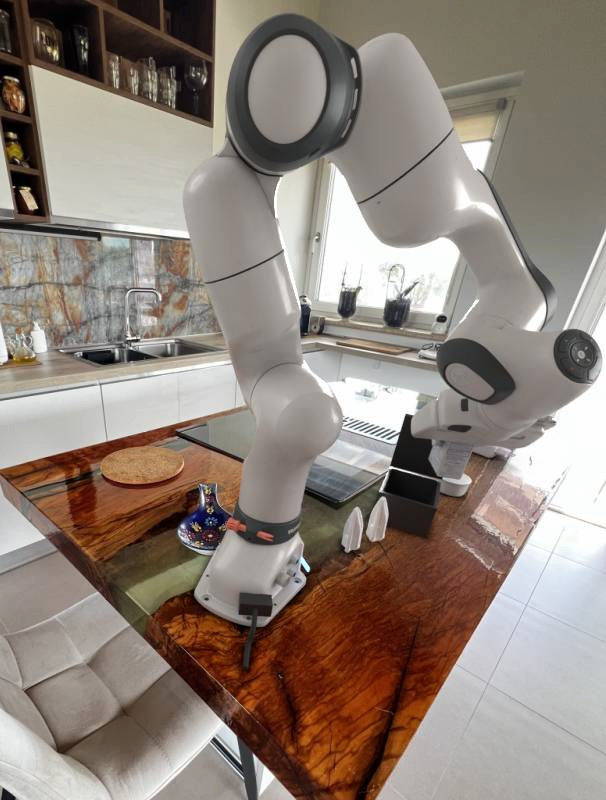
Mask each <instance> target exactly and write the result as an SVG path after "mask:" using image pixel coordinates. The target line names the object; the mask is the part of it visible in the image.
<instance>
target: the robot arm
mask: <svg viewBox="0 0 606 800" xmlns="http://www.w3.org/2000/svg"><path fill="white" fill-rule="evenodd" d="M224 108H225V112H224V113H225V136H224V143H223V145H222V147H221V149H220V150H219V151H218V152H217V153H216V154H215V155H213V156H212V157H209V158H207V159H205V160H203V162H201V163H200V164H198V166H196V168H194V170H193V171H192V172H191V174H190V175H189V177H188V178H187V180H186V182H185V184H184V187H183V191H182V206H183V213H184V218H185V224H186V229H187V232H188V237H189V241H190V244H191V248H192V252H193V255H194V258H195V262H196V265H197V269H198V271H199V274H200V278H201V280H202V282H203V286H204V288H205V290H206V293H207V296H208V298H209V301H210V305H211V307H212V310H213V312H214V314H215V317H216V320H217V323H218V325H219V328H220V331H221V333H222V337H223V339H224V342H225V345H226V347H227V352H228V354H229V355H228V356H229V358H230V361H231V365H232V368H233V371H234V375H235V377H236V380H237V383H238V386H239V390H240V392H241V396H242V398H243V401H244V403H245V406H246V407H247V408H248V410H249V412H250V413H251V415H252V416H253V420H254V426H255V427H254V430H255V432H254V437H253V442H252V444H251V448H250V450H249V454H248V455H247V456H246V458H244V460H243V462H242V466H241V476H240V483H239V493H238V498H237V499H236V502H235V505H234V506H233V507H234V508H233V511H232V515H231V517H229V518H228V519H227V521H226V525H225V529H226V531H225V533H224V535H223V538H222V540H221V542H220V544H218V545H217V547H216V549H215V551H214V552H213V555H212V556H211V558H210V560H209V561H208V564H207V566H206V568H205V569H204V571H203V572H202V573H203V574H202V576H201V577H200V579H199V581H198V583H197V584H196V586H195V589H194V592H193V596H194V598H195V599H196V601H197V602H198V603H199V604H200V605H201V606H202V607H203V608H205V609H206V610H207V611H209V612H211V613H213V614H214V615H216V616H218V617H221V618H222V619H225V620H227V621H229V622H232V623H235V624H238V625H242V626H246V627H250V629H249V632H248V636H247V638H246V641H245V646H244V651H243V661H242V670H244V671H247V670H249V665H250V664H249V663H250V654H251V647H252V643H253V641H254V640H253V639H254V637H255V635H256V631H257V630H256V629H257V628H262V627H266V625H268V624H269V623H270V622H271V621H272V620H273V619H274V618H275V617H276V615H278V614H279V613H280V611H281V610H283V608H284V607H286V605H287V604H288V603H289V602H290V601H291V600H292V599H293V598H294V597H295V596H296V595H297V594H298V593H299V592H300V591H301V590H302V588H304V587H305V585H306V584H307V577H306V576H305V574H304V573H303V572H302V571H301V566H303V567H304V569H305V571H306V572H308V573H309V572H310V570H311V567H310V566H309V564H308V563H307V562H306V560H305V559H304V557H303V553H304V547H305V544H304V541H303V540H302V537H301V535H300V533H299V530H300V527H301V523H302V519H303V508H302V505H303V499H304V494H305V490H306V485H307V481H308V477H309V475H310V471H311V469H312V467H313V465H314V463H315V461H316V460H317V458H318V456H320V455H322V454H323V453H325V452H327V450H329V449H330V448H331V447H332V446H333V445H334V444H335V443H336V442H337V440H338V438H339V437H340V435H341V432H342V430H343V425H344V413H343V410H342V406H341V404H340V402H339V400H338V398H337V397H336V394H335V393H334V391H333V389H332V388H331V386H329V384H328V383H327V382H325V380H323V379H322V378H321V377H319V376H318V375H317V374H315V373H314V372H313V371H312V370H311V369H310V367H309V365H308V364H307V362H306V360H305V357H304V353H303V349H302V339H301V326H300V325H301V318H302V307H301V303H300V300H299V296H298V291H297V288H296V285H295V284H296V283H295V280H294V275H293V272H292V268H291V265H290V264H291V263H290V261H289V258H288V257H289V256H288V253H287V248H286V245H285V241H284V238H283V233H282V231H281V226H280V224H279V218H278V216H279V215H278V210H277V209H278V208H277V194H278V189H279V186H280V183H281V181H282V178H283V177H284V176H286V175H288V174H291V173H294V172H295V171H297V170H299V169H300V168H302V167H305V166H307V165H309V164H311V163H312V162H314V161H316V160H318V159H320V158H324V159H326V160H328V161H329V162H331V163H332V164H333V166H334V167H336V169H338V171H339V172H340V174H341V175H342V176H343V178H344V179H345V181H346V183H347V186H348V189H349V190H350V193H351V195H352V197H353V199H354V201H355V203H356V206H357V207H358V209H359V212H360V214H361V215H362V218H363V220H364V222H365V224H366V226H367V227H368V229H369V231H371V233H372V234H373V236H374V237H375V238H376V239H377V240H378V241H379V242H380V243H381V244H384V245H385V246H388V247H391V248H396V249H414V248H418V247H421V246H424V245H428V244H430V243H432V242H434V241H437V240H439V239H442V238H443V239H446V240H449V241H450V242H452V243H453V244H454V245H455V246H456V248H457V249H458V252H459V253H460V255H461V256H462V259H463V260H464V262H465V264H466V266H467V267H468V269H469V270H470V273H471V274H472V276H473V278H474V279H475V281H476V284H477V291H476V295H475V298H474V301H473V304H472V305H471V307H470V308H469V309H468V311H467V312H466V313H465V314H464V316H463V317H462V318H461V319H460V321H459V322H458V323H457V325H455V327H454V329H452V330H451V332H450V333H449V334H448V335H447V337H446V339H445V340H444V341H443V342H442V343H441V344H440V346H439V347H438V349H437V351H436V356H435V363H436V368H437V371H438V373H439V376H440V377H441V379H442V380H443V382H445V384H446V385H447V386H448V387H447V388H444V389H443V390H440V392H439V395H438V398H437V399H433V400H431V401H429V402H427V403H426V404H425V405H424V406H422V407H421V408H420V409H419V410H418V411H417V412H416V413H415V414H413V415H414V416H413V417H412V420H411V434H412V435H413V437H415V438H424V439H432V446H441V445H443V444H444V441H452V442H461V443H470V444H475V446H474V448H473V449H475V448H477V447H483V446H488V445H489V446H498V447H504V448H507V449H522V448H527V447H529V446H530V445H532V444H533V443H535V442H537V441H538V440H539V439H541V438H542V437H543V436H544V434H545V431H548V430H550V429H552V428H554V427H556V426H557V419H555V418H554V416H551V415H553V414H554V413H556V412H558V411H560V410H561V409H563V408H564V407H566V406H568V405H569V404H571V403H572V402H574V401H575V400H576V399H579V398H580V397H581V396H583V394H585V393H586V392H587V391H588V390H589V389H591V388H592V386H594V384H595V383H596V382H597V380H598V378H599V376H600V374H601V372H602V369H603V354H602V350H601V348H600V346H599V344H598V343H597V341H596V340H595V338H593V336H592V335H590V334H589V333H588V332H586V331H584V330H581V329H579V328H566V329H562V330H557V331H543V329H545V327H546V326H547V325H548V324H549V323H550V322H551V321H552V319H553V318H554V316H555V314H556V311H557V309H558V308H557V307H558V294H557V291H556V289H555V286H554V285H553V284H552V282H551V281H550V279H549V278H548V277H547V276H546V275H545V274H544V273H543V272H542V271H541V270H540V269H539V268H538V267H537V265H535V264H534V262H533V261H532V260H531V258H530V255H529V254H528V253H527V250H526V248H525V247H524V244H523V243H522V240H521V238H520V235H519V233H518V231H517V230H516V228H515V225H514V223H513V222H512V219H511V217H510V215H509V213H508V211H507V208H506V206H505V204H504V203H503V200H502V199H501V197H500V195H499V193H498V191H497V189H496V188H495V186H494V184H493V183H492V182H491V180H490V178H489V177H488V176H487V174H485V173H484V172H483V171H482V170H481V169H479V168H477V167H475V166H474V165H473V163H472V161H471V160H470V158H469V156H468V155H467V153H466V151H465V149H464V147H463V145H462V141H461V140H460V137H459V135H458V133H457V130H456V127H455V125H454V121H453V119H452V117H451V114H450V111H449V109H448V106H447V104H446V102H445V100H444V97H443V95H442V93H441V91H440V88H439V87H438V85H437V83H436V81H435V79H434V77H433V75H432V73H431V71H430V70H429V68H428V66H427V64H426V63H425V61H424V59H423V57H422V56H421V54H420V53H419V51H418V49H417V48H416V46H415V45H414V43H413V42H412V41H411V40H410V38H408V37H407V36H406V35H404V34H402V33H400V32H388V33H384V34H381V35H378V36H377V37H374V38H372V39H369V41H366V42H365V43H364V44H363V45H361V46H360V47H358V49H357V48H356V47H355V46H354V45H352V44H350V43H349V42H348V41H345V40H343V39H342V38H340V37H339V36H337V35H335V34H334V33H332V32H331V31H329V30H328V29H327V28H325V27H324V26H323V25H321V24H320V23H319V22H317V21H315V20H314V19H312V18H310V17H308V16H306V15H303V14H300V13H296V12H282V13H278V14H275V15H271V16H270V17H268V18H266V19H265V20H263V21H262V22H260V23H259V24H258V25H257V26H255V27H254V28H253V29H252V30H251V31H250V32H249V34H248V35H247V36H246V37H245V38H244V40H243V41H242V43H241V44H240V47H239V49H238V50H237V52H236V54H235V57H234V59H233V61H232V64H231V68H230V71H229V75H228V79H227V86H226V95H225V107H224Z"/></svg>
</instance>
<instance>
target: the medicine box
mask: <svg viewBox="0 0 606 800" xmlns="http://www.w3.org/2000/svg"><path fill="white" fill-rule="evenodd" d="M474 446H475V444H470V443H461V442H452V441H444V444H443V445H441V446H433V447H432V450H431V453H430V455H429V458H428V459H429V461H430V463H431V465H432V467H433V469H434V471H435V472H436V474H437V476H439V477H445V478H451V479H457V480H459V479H461V477H462V475H463V474H464V473H465V469H467V468H466V467H467V466H468V463H469V460H470V458H471V456H472V453H473V452H472V451H473V448H474Z"/></svg>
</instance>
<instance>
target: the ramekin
mask: <svg viewBox="0 0 606 800" xmlns="http://www.w3.org/2000/svg"><path fill="white" fill-rule="evenodd" d="M435 479H437V478H435ZM437 480H441V479H437ZM472 482H473V480H472V478H471V476H469V475H467V474H465V473H463V475H462V477H461V479H459V480H457V479H451V478H445V477H443V478H442V480H441V487H440V493H441V494H442V495H443V494H444V495H447V496H450V497H463V496H464V495H465V494H466V492H467V490H468V488H469V486H470V485H471V484H472Z"/></svg>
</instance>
